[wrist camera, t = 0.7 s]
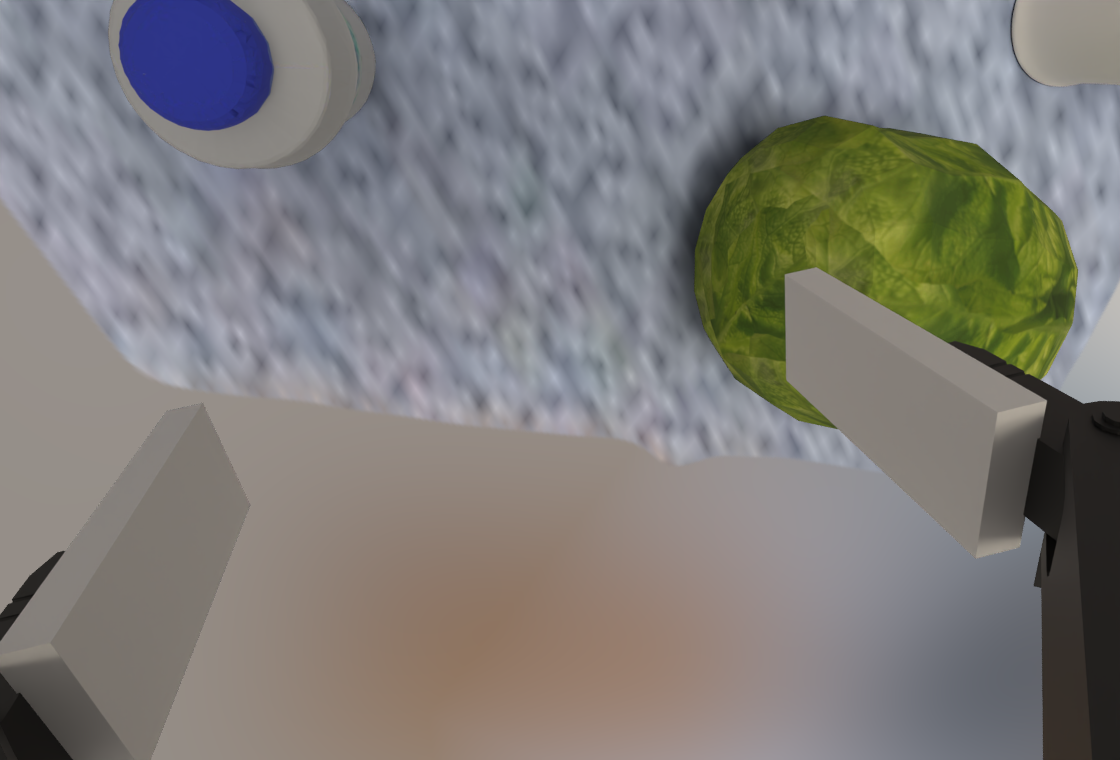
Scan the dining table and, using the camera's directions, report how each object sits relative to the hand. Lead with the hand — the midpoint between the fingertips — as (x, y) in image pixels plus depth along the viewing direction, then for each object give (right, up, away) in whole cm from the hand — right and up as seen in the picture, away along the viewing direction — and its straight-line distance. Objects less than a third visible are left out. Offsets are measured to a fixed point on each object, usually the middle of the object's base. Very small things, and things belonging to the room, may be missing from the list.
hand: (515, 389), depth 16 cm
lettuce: (+18, +8, +28) cm, 35 cm away
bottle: (-11, +16, +19) cm, 27 cm away
